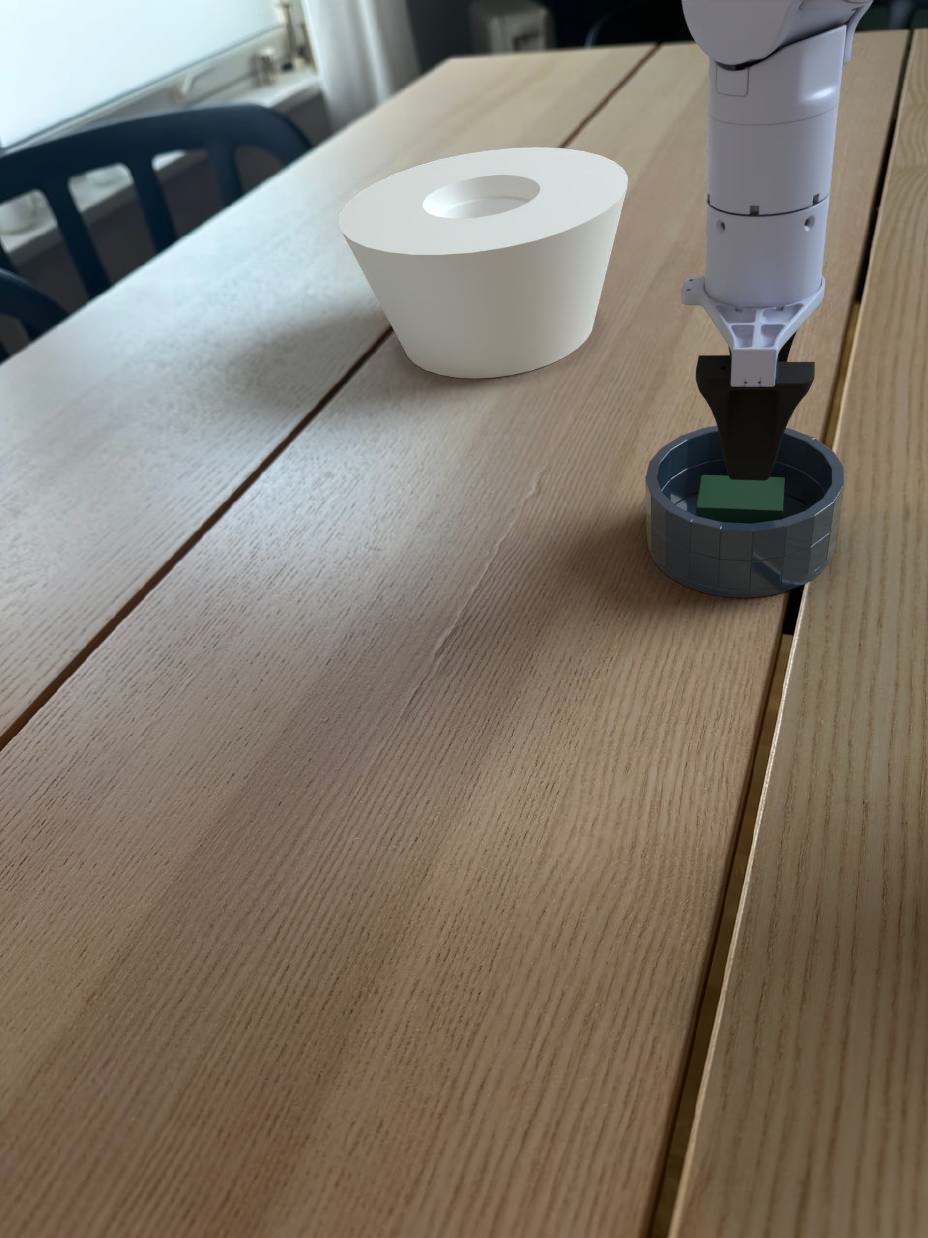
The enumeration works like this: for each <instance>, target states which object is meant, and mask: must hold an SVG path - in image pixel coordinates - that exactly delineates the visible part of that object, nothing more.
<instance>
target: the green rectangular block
mask: <svg viewBox="0 0 928 1238" xmlns="http://www.w3.org/2000/svg"><path fill="white" fill-rule="evenodd" d="M784 482H785V478H783V477H769V478H768V480H766V481H761V480H731V479H730V478H729V476H721V475H701V480H700V487H699V493H698V499H697V505H696V516H698V517H702V518H706V519H710V520H715V521H719V522H723V523H745V524H753V523H760V522H768V521H775V520H781V519H782V515H783V500H784Z"/></svg>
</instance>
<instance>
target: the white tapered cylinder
mask: <svg viewBox="0 0 928 1238" xmlns="http://www.w3.org/2000/svg"><path fill="white" fill-rule="evenodd" d="M628 185H629V176H628V174H627V172H626V171H625V169H624V168H623V167H622V166H621V165H620V164H618V163H617V162H616V161H614V160H612V159H609V158H608V157H605V156H603V155H601V154H597V153H593V152H589V151H585V150H579V149H571V148H564V147H543V146H535V147H532V146H531V147H530V146H529V147H509V148H500V149H498V148H497V149H489V150H488V149H487V150H481V151H476V152H475V151H474V152H469V153H463V154H459V155H454V156H449V157H445V158H439V159H436V160H433V161H428V162H426V163H422V164H419V165H415V166H411V167H410V168H407V169H405V170H402V171H399V172H395V173H393V174H391V175H388V176H387V177H385V178H382V179H380V180H378V181H375V182H374V183H371V184H370V185H369V186H366V187H365V188H364V189H362V190H361V191H359V192H357V194H355V195H354V196H353V197H352V198H350V199H349V201H347V202H346V203H345V205H344V206H343V208H342V209H341V211H340V212H339V216H338V220H337V223H338V226H339V228H340V231H341V233H342V235H343V237H344V239H345V241H346V243H347V245H348V246H349V248H350V250H351V252H352V254H353V256H354V259H355V260H356V262H357V264H358V265H359V268H360V270H361V271H362V273H363V275H364V276H365V278H366V281H367V283H368V284H369V286H370V289H371V290H372V292H373V294H374V295H375V298H376V299H377V302H378V303H379V305H380V306H381V309H382V311H383V312H384V314H385V316H386V318H387V320H388V322H389V324H390V326H391V328H392V330H393V332H394V333H395V335H396V338H397V339H398V341H399V343H400V344H401V346H402V349H403V350H404V352H405V354H406V356H407V358H408V359H409V360H410V361H411V362H412V363H413V364H414V365H416V366H418V367H419V368H421V369H422V370H424V371H427V372H430V373H433V374H436V375H440V376H445V377H449V378H456V379H457V378H458V379H492V378H500V377H501V378H502V377H507V376H508V377H509V376H515V375H519V374H523V373H528V372H531V371H535V370H538V369H540V368H544V367H546V366H549V365H551V364H553V363H556V362H558V361H560V360H562V359H564V358H566V357H568V356H569V355H570V354H572V353H574V352H575V351H576V350H578V349H579V348H580V347H581V346H582V345H583V344H584V343H585V342H586V341H587V340H588V339H589V337H590V335H591V333H592V332H593V328H594V325H595V319H596V316H597V311H598V307H599V303H600V300H601V295H602V291H603V287H604V283H605V279H606V276H607V271H608V268H609V263H610V259H611V254H612V251H613V246H614V243H615V239H616V236H617V235H616V234H617V230H618V227H619V222H620V218H621V214H622V210H623V207H624V202H625V197H626V194H627V190H628Z"/></svg>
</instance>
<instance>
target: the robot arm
mask: <svg viewBox="0 0 928 1238" xmlns="http://www.w3.org/2000/svg"><path fill="white" fill-rule="evenodd" d="M873 2H874V0H681V5H682V12H683V15H684V20H685V23H686V25H687V28H688V31H689V32H690V35H691V36H692V38H693V40H694V42H695V43H696V45H697V46H698V48H699V49H701V51H702V52H703V53H704V54H705V55H706V56H707V57H708V86H707V87H708V88H707V89H708V90H707V91H708V93H707V140H706V141H707V142H706V145H707V146H706V152H707V153H706V189H705V191H706V192H705V193H706V194H705V205H706V206H705V243H704V244H705V245H704V246H705V247H704V251H705V252H704V276H692V277H691V276H690V277H688V278H685V279H684V280H683V282H682V284H681V289H680V302H681V304H682V305H685V306H699V307H702V308H703V309H704V311H705V313H706V314H707V315H708V317H709V319H710V320H711V322H712V323H713V324H714V326H715V328H716V329H717V331H718V333H720V336H721V337H722V338H723V340H724V341H725V343H726V344H727V347H728V352H729V354H705V355H704V354H702V355H701V354H700V355H698V356H697V362H696V367H695V382H696V386H697V388H698V391H699V393H700V395H701V396H702V397H703V400H705V402H706V403H707V405H708V407H709V409H710V411H711V413H712V416H713V418H714V421H715V423H716V426H717V427H718V431H719V435H720V440H721V446H722V451H723V457H724V461H725V466H726V469H727V473H728V475H729V478H730V479H731V480H761V481H766V480H768V478H769V476H770V474H771V472H772V470H773V467H774V464H775V461H776V458H777V455H778V451H779V448H780V444H781V441H782V438H783V435H784V432H785V429H786V428H787V426H788V424H789V421H790V419H791V418H792V416H793V414H794V412H795V410H796V408H797V407H798V406H799V404H800V403H801V401H802V400H803V399H804V398H805V396H807V394H808V393H809V391H810V389H811V388H812V386H813V383H814V381H815V377H816V361H788V360H789V356H790V352H791V349H792V346H793V343H794V340H795V337H796V335H797V332H798V330H799V329H800V327H801V326H802V325H803V324H804V323H805V322H806V321H807V320H808V318H809V317H810V316H811V315H812V314H813V312H815V310H816V309H817V308H818V307H819V306H820V305H821V303H822V302H823V299H824V296H825V289H826V279H825V277H824V275H823V266H824V257H825V245H826V236H827V225H828V215H829V209H830V208H829V206H830V197H831V185H832V176H833V175H832V173H833V163H834V156H835V155H834V154H835V145H836V134H837V125H838V124H837V123H838V113H839V105H840V103H839V102H840V95H841V84H842V76H843V71H844V69H845V64H847V63H850V62H851V59H852V48H853V41H854V35H855V31H856V28H857V26H858V24H859V22H860V20H861V19H862V17H863V16H864V15H865V14H866V12H867V11H868V10H869V8H870V7H871V5H872V3H873Z"/></svg>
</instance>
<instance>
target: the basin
mask: <svg viewBox="0 0 928 1238" xmlns="http://www.w3.org/2000/svg"><path fill="white" fill-rule="evenodd" d="M701 475H721V476H729V475H728V473H727V469H726V466H725V461H724V457H723V451H722V446H721V440H720V435H719V431H718V427H717V425H711V426H706V427H702V428H698V429H696V430H693V431H690V432H687V433H685V434H681V435H679V436H678V437H676V438H675V439H673V440H671V441H670V442H668V443H667V444H665V445H663V446H661V447H660V449H658V451H657V452H656V453H655V454H654V456H653V457H652V458H651V459H650V460H649V462H648V465H647V468H646V474H645V477H644V478H645V479H644V481H645V483H644V484H645V487H644V488H645V489H644V491H645V531H646V533H645V534H646V535H645V536H646V540H647V541H646V542H647V548H648V552H649V554H650V557H651V559H652V560H653V562H654V563H655V564H656V566H657V567H658V568H659V569H660V570H661V571H662V572H663V573H664V574H665V575H666V576H668V577H669V578H670V579H672V580H673V581H675V582H677V583H679V584H680V585H683V586H684V587H687V588H689V589H692V590H695V591H698V592H701V593H705V594H707V595H712V596H713V595H714V596H719V597H727V598H740V599H741V598H743V599H745V598H746V599H747V598H762V597H769V596H773V595H778V594H783V593H786V592H789V591H792V590H795V589H797V588H799V587H801V586H804V585H806V584H807V583H809V582H810V581H812V580H814V579H815V578H816V577H817V576H819V575H820V574H821V573H822V572H823V571H824V570H825V569H826V568H827V566H828V565H829V563H830V562H831V561H832V558H833V556H834V553H835V548H836V546H837V542H838V534H839V526H840V521H841V520H840V519H841V514H842V513H841V512H842V506H843V500H844V499H843V497H844V492H845V467H844V465H843V464H842V462H841V460H840V459H839V457H838V456H837V454H836V452H835V451H833V450H832V449H831V448H830V447H828V446H827V445H826V444H824V443H823V442H821V441H819V439H817V438H815V437H813V436H812V435H808V434H806V433H803V432H800V431H798V430H796V429H793V428H789V427H786V429H785V432H784V435H783V438H782V441H781V444H780V448H779V451H778V455H777V458H776V461H775V464H774V467H773V470H772V472H771V474H770V476H769V477H783V478H785V482H784V500H783V515H782V519H781V520H775V521H768V522H760V523H753V524H745V523H723V522H719V521H715V520H710V519H706V518H702V517H698V516H696V505H697V499H698V493H699V487H700V480H701Z"/></svg>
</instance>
